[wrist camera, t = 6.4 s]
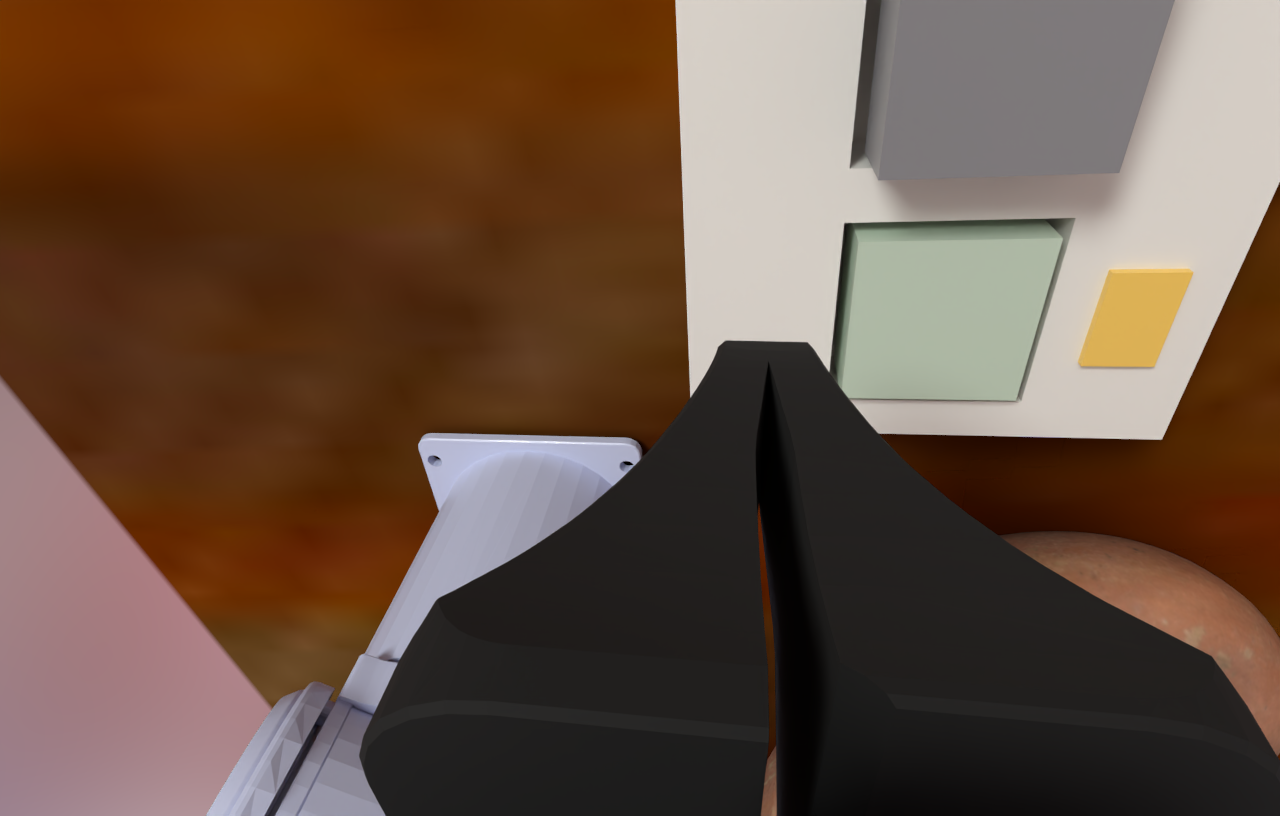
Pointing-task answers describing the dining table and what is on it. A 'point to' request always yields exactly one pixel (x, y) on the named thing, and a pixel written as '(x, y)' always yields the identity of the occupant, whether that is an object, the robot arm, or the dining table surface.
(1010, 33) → the key charcoal
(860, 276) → the key sage
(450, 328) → the dining table surface
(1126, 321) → the white flat block
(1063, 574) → the ceramic jug
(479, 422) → the dining table surface
